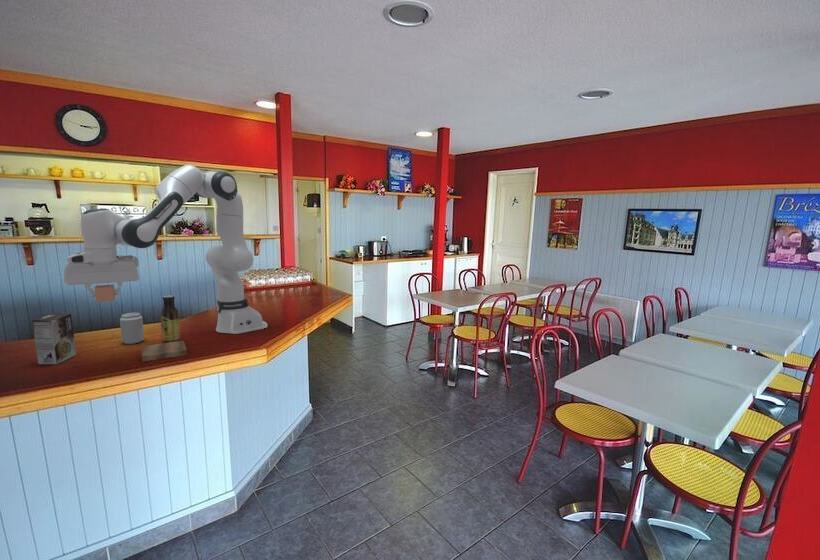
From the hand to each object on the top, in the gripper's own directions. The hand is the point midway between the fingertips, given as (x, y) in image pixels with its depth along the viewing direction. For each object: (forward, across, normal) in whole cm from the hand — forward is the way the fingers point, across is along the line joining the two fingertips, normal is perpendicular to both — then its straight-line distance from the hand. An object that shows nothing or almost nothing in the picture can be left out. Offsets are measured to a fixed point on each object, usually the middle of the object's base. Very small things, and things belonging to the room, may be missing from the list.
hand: (105, 295), depth 133 cm
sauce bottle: (+25, -19, -13) cm, 34 cm away
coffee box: (+24, +16, -11) cm, 31 cm away
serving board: (+24, -16, 0) cm, 29 cm away
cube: (+2, 0, 0) cm, 2 cm away
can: (+24, -6, -21) cm, 33 cm away
